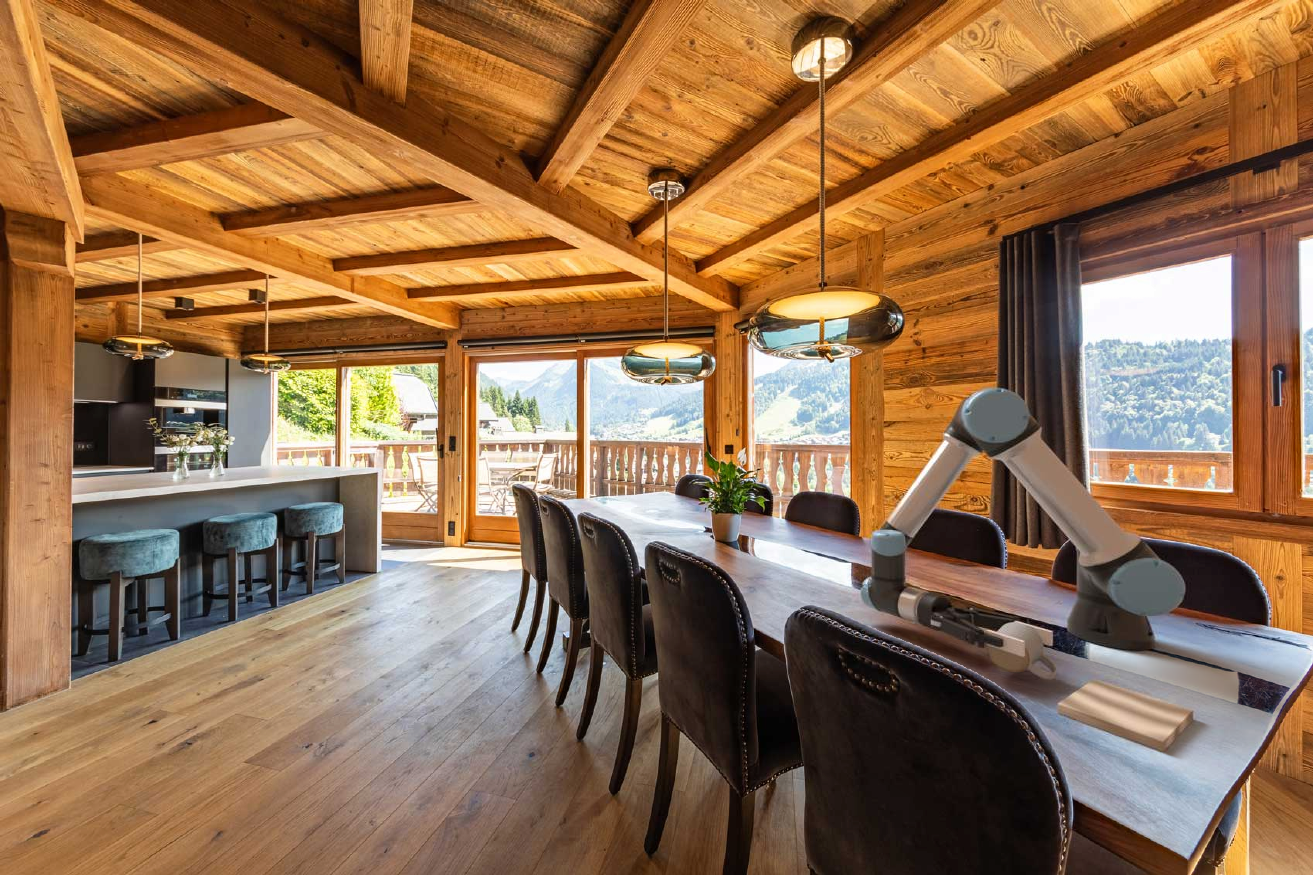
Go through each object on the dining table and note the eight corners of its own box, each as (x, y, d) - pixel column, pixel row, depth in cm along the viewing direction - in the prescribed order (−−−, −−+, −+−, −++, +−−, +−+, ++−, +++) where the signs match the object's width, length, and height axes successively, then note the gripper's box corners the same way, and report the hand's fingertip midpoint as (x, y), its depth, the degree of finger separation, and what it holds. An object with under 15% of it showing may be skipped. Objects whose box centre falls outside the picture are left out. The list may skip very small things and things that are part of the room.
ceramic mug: (984, 666, 102) (985, 627, 102) (998, 654, 107) (999, 617, 107) (1051, 687, 94) (1052, 644, 94) (1063, 673, 99) (1064, 632, 99)
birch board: (1093, 687, 97) (1093, 678, 97) (1193, 719, 86) (1193, 710, 86) (1057, 712, 88) (1057, 703, 88) (1162, 752, 77) (1163, 741, 77)
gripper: (955, 617, 123) (1067, 651, 103) (893, 634, 113) (1005, 677, 93) (955, 585, 123) (1067, 613, 103) (893, 599, 113) (1005, 634, 93)
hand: (1038, 643), depth 98 cm, fingers closed on ceramic mug, 9 cm apart
